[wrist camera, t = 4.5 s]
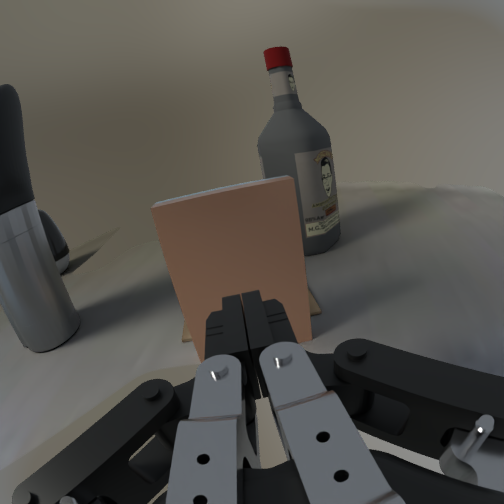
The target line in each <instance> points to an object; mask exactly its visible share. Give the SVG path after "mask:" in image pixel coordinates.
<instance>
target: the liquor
mask: <svg viewBox="0 0 504 504" xmlns="http://www.w3.org/2000/svg"><path fill="white" fill-rule="evenodd" d="M264 57H265V62H266V67H267V71H269V76H270V82H271V86H272V92H273V98H274V107H273V109H274V114H273V115H272V117H271V118H270V120H269V122H268V123H267V125H266V127H265V128H264V130H263V131H262V133H261V135H260V136H259V139H258V145H257V146H258V152H259V157H260V163H261V169H262V175H263V179H268V178H273V177H279V176H285V175H288V176H290V177H292V178H294V184H295V190H296V197H297V204H298V212H299V219H300V227H301V235H302V243H303V251H304V255H306V256H309V255H314V254H319V253H324V252H325V251H327V250H328V249H329V248H330V247H331V246H332V245H333V244H334V243H335V242H336V241H337V240H338V239H339V236H340V234H341V233H340V221H339V209H338V199H337V189H336V181H335V172H334V164H333V156H332V149H331V142H330V136H329V134H328V132H327V131H326V129H325V128H324V127H323V126H322V125H321V124H320V123H319V122H317V121H316V120H315V119H314V118H312V117H311V116H310V115H309V114H308V113H307V112H305V111H304V110H303V109H302V106H301V103H300V102H299V99H298V95H297V90H296V85H295V81H294V76H293V71H292V67H293V66H292V62H291V58H290V53H289V49H288V48H287V47H273V48H269V49H267V50H265V51H264Z"/></svg>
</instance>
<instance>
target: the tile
mask: <svg viewBox="0 0 504 504" xmlns="http://www.w3.org/2000/svg"><path fill="white" fill-rule="evenodd" d="M151 212H152V215H153V219H154V223H155V226H156V230H157V233H158V237H159V240H160V244H161V247H162V251H163V254H164V257H165V261H166V264H167V267H168V270H169V273H170V277H171V280H172V283H173V286H174V289H175V292H176V295H177V298H178V301H179V304H180V307H181V310H182V313H183V315H184V318H185V321H186V324H187V327H188V329H189V332H190V335H191V337H192V340H193V343H194V345H195V348H196V351H197V353H198V356H199V358H200V361H201V363H202V362H203V361H204V356H205V337H206V336H205V331H206V319H207V318H208V316H209V315H210V313H211V312H214V311H219V310H222V297H226V296H231V295H236V294H240V296H241V300H242V295H241V293H245V292H250V291H254V290H259V291H260V295H261V298H262V301H266V300H270V299H276V300H278V301H279V302H280V303H282V304H283V306H284V309H285V311H286V314H287V316H288V320H289V321H290V324H291V326H292V329H293V331H294V334H295V337H296V339H297V342H298V343H301V342H305V341H309V340H312V331H311V320H310V308H309V298H308V288H307V278H306V269H305V260H304V251H303V243H302V235H301V227H300V219H299V212H298V204H297V197H296V190H295V184H294V178H292V177H290V176H288V175H285V176H279V177H273V178H268V179H262V180H257V181H252V182H247V183H241V184H236V185H231V186H227V187H222V188H217V189H212V190H208V191H203V192H199V193H194V194H190V195H186V196H181V197H177V198H173V199H169V200H165V201H161V202H157V203H155V205H154V206H152V208H151ZM242 304H243V301H242ZM243 308H244V307H243Z"/></svg>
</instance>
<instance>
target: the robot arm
mask: <svg viewBox="0 0 504 504" xmlns="http://www.w3.org/2000/svg"><path fill="white" fill-rule="evenodd" d="M33 199H34V195H33V190H32V185H31V179H30V173H29V168H28V163H27V157H26V151H25V142H24V132H23V120H22V111H21V105H20V101H19V97H18V94H17V92H16V90H15V89H14V88H13V87H12V86H11V85H9V84H4V85H1V86H0V303H1V305H2V307H3V310H4V312H5V314H6V315H7V317H8V319H9V321H10V323H11V325H12V327H13V329H14V331H15V332H16V334H17V336H18V338H19V339H20V341H21V343H22V345H23V346H24V347H29V349H30V350H32V351H34V352H43V351H47V350H50V349H53V348H55V347H57V346H59V345H60V344H62V343H63V342H65V341H66V340H67V339H69V338H70V337H71V336H72V335H73V334H74V333H75V331H76V330H77V329H78V327H79V325H80V318H79V316H78V314H77V312H76V310H75V308H74V306H73V303H72V301H71V299H70V297H69V294H68V292H67V290H66V287H65V285H64V283H63V280H62V278H61V275H60V273H59V271H58V268H57V265H56V263H55V260H54V258H53V255H52V252H51V249H50V247H49V244H48V241H47V238H46V235H45V232H44V229H43V226H42V223H41V219H40V216H39V213H38V209H37V206H36V202H35V200H33ZM241 295H242V300H241V296H240V294H236V295H231V296H226V297H222V310H219V311H214V312H211V313H210V315H209V316H208V318H207V319H206V331H205V336H206V337H205V356H204V361H203V362H202V363H201V364H200V365H199V367H198V368H197V371H196V376H195V378H193V379H191V380H190V381H188V382H185V383H183V384H180V385H178V386H175V387H173V386H172V385H171V383H170V382H168V381H166V380H163V379H153V380H149V381H147V382H144V383H142V384H141V385H140V386H138V387H137V388H136V389H135V390H134V391H132V392H131V393H130V394H129V395H128V396H127V397H125V398H124V399H123V400H122V401H121V402H120V403H119V404H117V405H116V406H115V407H114V408H113V409H111V410H110V411H109V412H108V413H107V414H106V415H104V416H103V417H102V418H101V419H100V420H98V421H97V422H96V423H95V424H94V425H92V426H91V427H90V428H89V429H88V430H87V431H85V432H84V433H83V434H82V435H80V436H79V437H78V438H77V439H76V440H75V441H73V442H72V443H71V444H69V446H67V447H66V448H65V449H63V450H62V451H61V452H60V453H58V454H57V455H56V456H55V457H54V458H52V459H51V460H50V461H49V462H47V463H46V464H45V465H44V466H42V467H41V468H40V469H39V470H37V471H36V472H35V473H33V474H32V475H31V476H30V477H29V478H27V479H26V480H25V481H23V482H22V483H21V484H19V485H18V486H17V487H16V489H15V490H14V493H13V496H12V504H147V503H148V502H149V501H150V500H151V499H152V498H154V496H155V495H156V494H158V493H159V492H160V491H161V490H162V489H163V488H164V487H165V486H166V484H167V483H168V482H169V483H168V490H167V491H166V492H164V493H163V494H162V495H161V496H159V497H158V498H157V499H156V500H155V501H154V502H153V504H504V377H501V376H497V375H492V374H488V373H484V372H480V371H476V370H472V369H468V368H464V367H460V366H456V365H453V364H449V363H445V362H441V361H438V360H434V359H431V358H427V357H423V356H420V355H416V354H413V353H410V352H406V351H403V350H399V349H396V348H393V347H389V346H386V345H383V344H379V343H376V342H373V341H370V340H366V339H350V340H347V341H345V342H343V343H341V344H339V345H338V346H337V347H336V349H335V351H334V354H315V353H310V352H308V351H306V350H304V348H303V347H302V346H300V345H299V344H298V342H297V339H296V337H295V334H294V331H293V329H292V326H291V324H290V321H289V320H288V316H287V314H286V311H285V309H284V306H283V304H282V303H280V302H279V301H278V300H276V299H270V300H266V301H262V298H261V295H260V291H259V290H254V291H250V292H245V293H241ZM242 301H243V304H242ZM243 307H244V308H243ZM257 376H258V378H257ZM258 380H259V383H258ZM259 384H260V387H261V391H262V395H263V398H265V397H268V398H269V402H270V406H271V410H272V414H273V417H274V420H275V423H276V427H277V430H278V432H279V436H280V439H281V442H282V445H283V447H284V451H285V454H286V457H287V460H288V461H286V462H284V463H282V464H280V465H277V466H275V467H273V468H268V469H262V468H261V464H260V455H259V454H260V453H259V438H258V422H257V415H256V403H255V400H256V399H260V398H261V394H260V389H259ZM357 429H358V430H360V431H362V432H365V433H367V434H369V435H372V436H374V437H377V438H379V439H382V440H384V441H387V442H389V443H392V444H394V445H397V446H400V447H402V448H405V449H408V450H411V451H413V452H417V453H419V454H422V455H425V456H428V457H431V458H434V459H437V460H439V464H440V468H441V470H442V472H443V473H444V475H443V474H440V473H437V472H434V471H432V470H429V469H426V468H423V467H421V466H418V465H416V464H413V463H410V462H408V461H406V460H404V459H401V458H399V457H396V456H394V455H391V454H389V453H385V452H382V451H377V450H371V449H368V448H367V446H366V444H365V443H364V441H363V439H362V437H361V436H360V434H359V432H358V430H357ZM152 435H155V437H154V438H153V439H152V440H151V441H150V442H149V443H148V444H147V445H146V446H145V447H144V448H143V449H142V450H141V451H140V452H139V453H138V454H136V456H134V457H133V458H132V459H131V460H130V461H129V458H130V457H131V455H133V454H134V453H135V452H136V451H137V450H138V449H139V448H140V447H141V446H142V445H143V444H144V443H145V442H146V441H147V440H148V439H149V438H150V437H152Z"/></svg>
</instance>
